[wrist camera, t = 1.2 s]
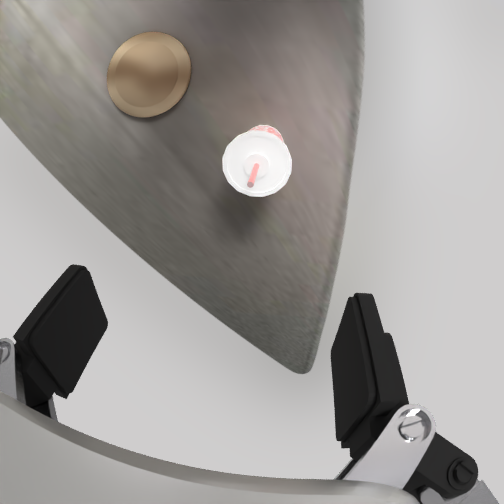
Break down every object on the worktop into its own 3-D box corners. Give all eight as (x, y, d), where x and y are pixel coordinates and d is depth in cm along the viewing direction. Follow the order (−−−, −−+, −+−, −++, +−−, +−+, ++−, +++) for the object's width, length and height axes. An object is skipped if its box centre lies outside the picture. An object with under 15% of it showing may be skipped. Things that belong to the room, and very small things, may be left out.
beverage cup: (295, 125, 30) (303, 154, 19) (283, 173, 34) (282, 230, 22) (242, 113, 30) (214, 135, 19) (233, 162, 34) (203, 213, 22)
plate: (109, 41, 25) (105, 41, 25) (192, 26, 25) (189, 25, 24) (112, 120, 32) (108, 121, 31) (191, 114, 31) (189, 115, 30)
